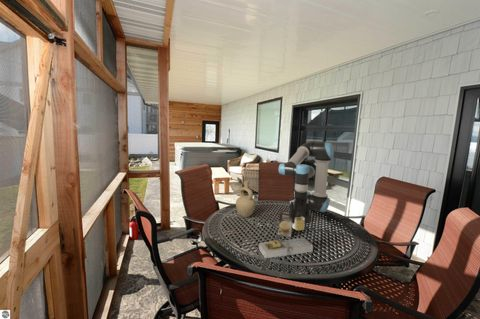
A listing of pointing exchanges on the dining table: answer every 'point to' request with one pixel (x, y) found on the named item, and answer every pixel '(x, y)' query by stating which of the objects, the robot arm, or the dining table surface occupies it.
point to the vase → (245, 201)
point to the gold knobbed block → (299, 223)
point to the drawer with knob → (274, 244)
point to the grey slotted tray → (286, 248)
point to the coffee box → (285, 224)
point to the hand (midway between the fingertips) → (298, 227)
